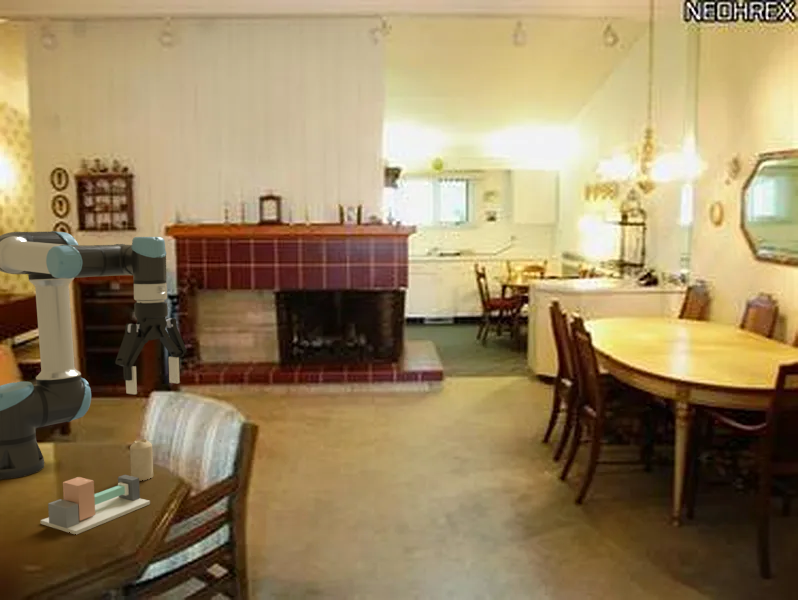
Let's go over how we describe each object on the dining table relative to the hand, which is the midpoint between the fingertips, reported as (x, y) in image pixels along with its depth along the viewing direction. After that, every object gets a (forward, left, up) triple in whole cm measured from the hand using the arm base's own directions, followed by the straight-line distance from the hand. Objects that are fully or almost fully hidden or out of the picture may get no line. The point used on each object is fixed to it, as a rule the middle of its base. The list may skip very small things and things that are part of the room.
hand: (153, 388), depth 175 cm
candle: (-13, +7, -27) cm, 31 cm away
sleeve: (-2, -20, -26) cm, 32 cm away
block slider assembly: (-2, -15, -27) cm, 31 cm away
